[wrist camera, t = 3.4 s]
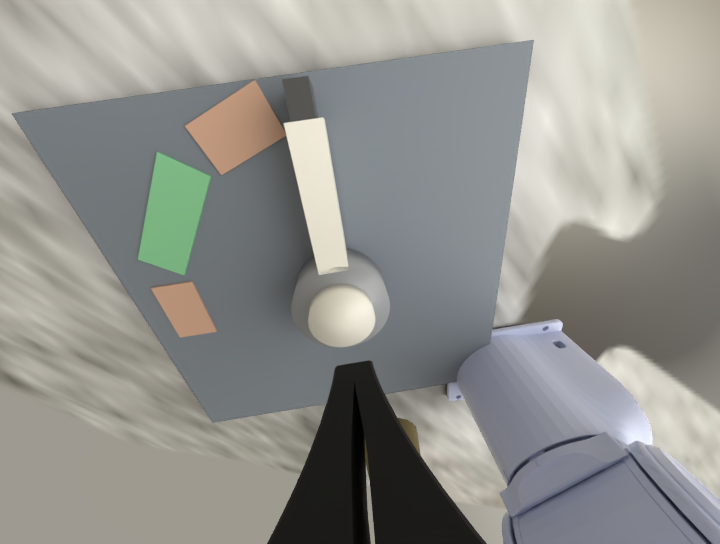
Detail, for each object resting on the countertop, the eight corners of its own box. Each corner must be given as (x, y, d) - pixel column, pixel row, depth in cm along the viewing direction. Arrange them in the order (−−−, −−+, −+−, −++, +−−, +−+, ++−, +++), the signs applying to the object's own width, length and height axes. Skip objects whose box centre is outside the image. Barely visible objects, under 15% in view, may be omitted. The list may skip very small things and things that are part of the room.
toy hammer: (386, 315, 19) (396, 351, 16) (307, 327, 19) (302, 367, 15) (362, 79, 12) (372, 60, 9) (240, 96, 12) (209, 83, 9)
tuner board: (517, 47, 13) (535, 38, 12) (478, 366, 24) (486, 378, 23) (37, 114, 13) (8, 113, 12) (217, 409, 24) (211, 424, 23)
